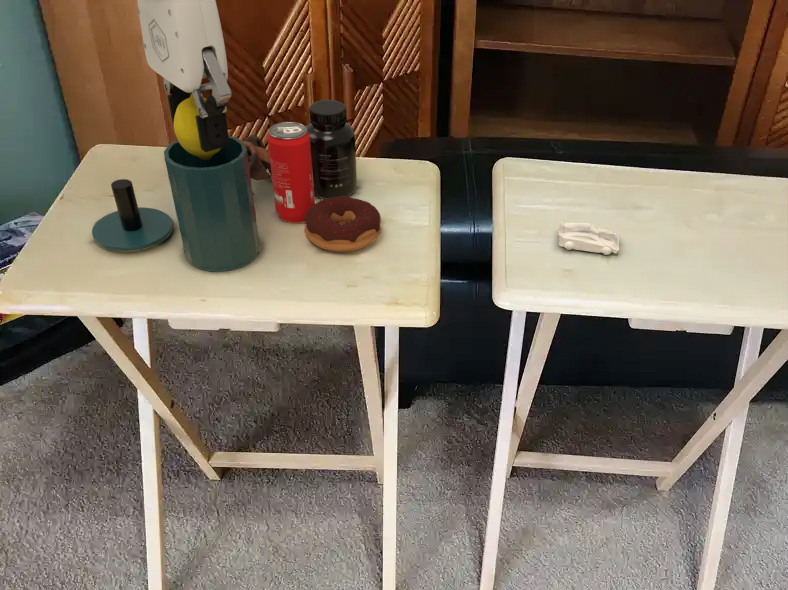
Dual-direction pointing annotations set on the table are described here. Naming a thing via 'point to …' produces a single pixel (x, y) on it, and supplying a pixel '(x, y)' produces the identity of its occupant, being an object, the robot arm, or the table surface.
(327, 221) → the donut
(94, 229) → the lid
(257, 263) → the table surface
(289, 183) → the beverage can
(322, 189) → the supplement bottle
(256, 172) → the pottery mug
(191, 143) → the fruit
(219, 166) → the pot
